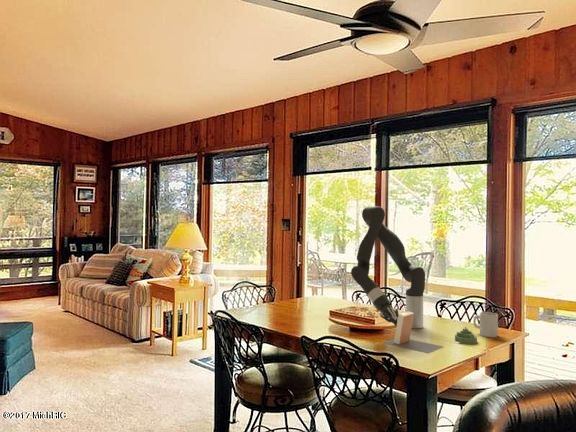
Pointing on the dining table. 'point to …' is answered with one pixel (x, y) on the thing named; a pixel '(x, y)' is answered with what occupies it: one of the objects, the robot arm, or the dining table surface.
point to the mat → (416, 345)
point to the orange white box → (403, 327)
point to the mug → (487, 324)
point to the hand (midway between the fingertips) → (400, 327)
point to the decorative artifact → (465, 337)
